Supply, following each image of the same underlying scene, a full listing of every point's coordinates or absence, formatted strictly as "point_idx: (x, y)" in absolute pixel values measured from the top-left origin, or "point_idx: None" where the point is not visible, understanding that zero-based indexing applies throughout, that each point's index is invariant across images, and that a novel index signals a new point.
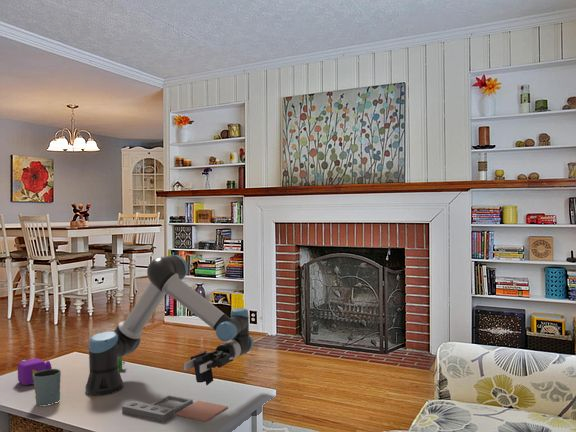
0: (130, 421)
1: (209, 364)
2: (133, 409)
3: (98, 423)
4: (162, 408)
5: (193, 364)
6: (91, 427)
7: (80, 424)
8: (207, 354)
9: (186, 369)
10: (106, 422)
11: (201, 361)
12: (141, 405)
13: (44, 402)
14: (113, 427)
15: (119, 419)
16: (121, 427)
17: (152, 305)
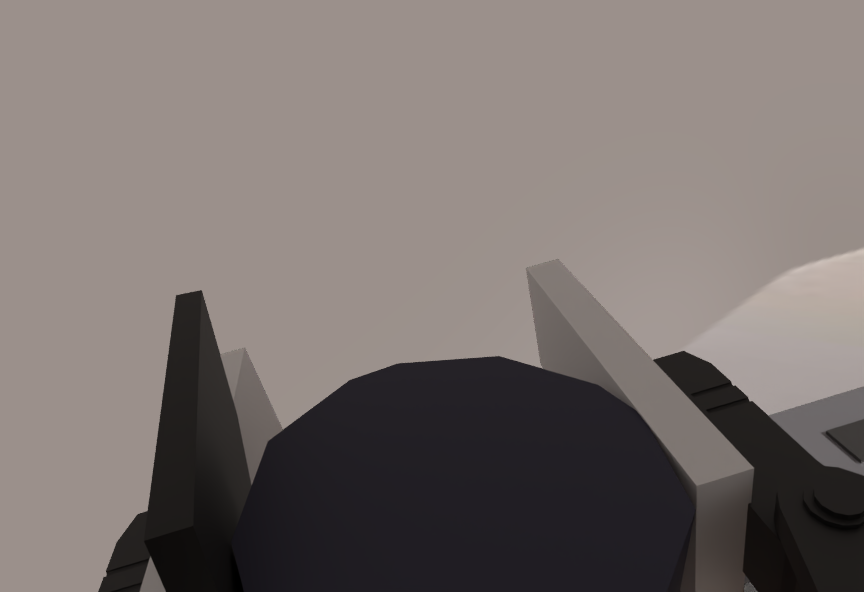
0: (742, 391)
1: (145, 548)
2: (852, 393)
3: (810, 301)
4: None
5: None
6: (771, 282)
7: (842, 262)
8: (157, 437)
9: (544, 362)
10: (803, 322)
11: (321, 419)
12: None
13: None
14: (708, 330)
15: (815, 364)
16: (682, 349)
17: None
